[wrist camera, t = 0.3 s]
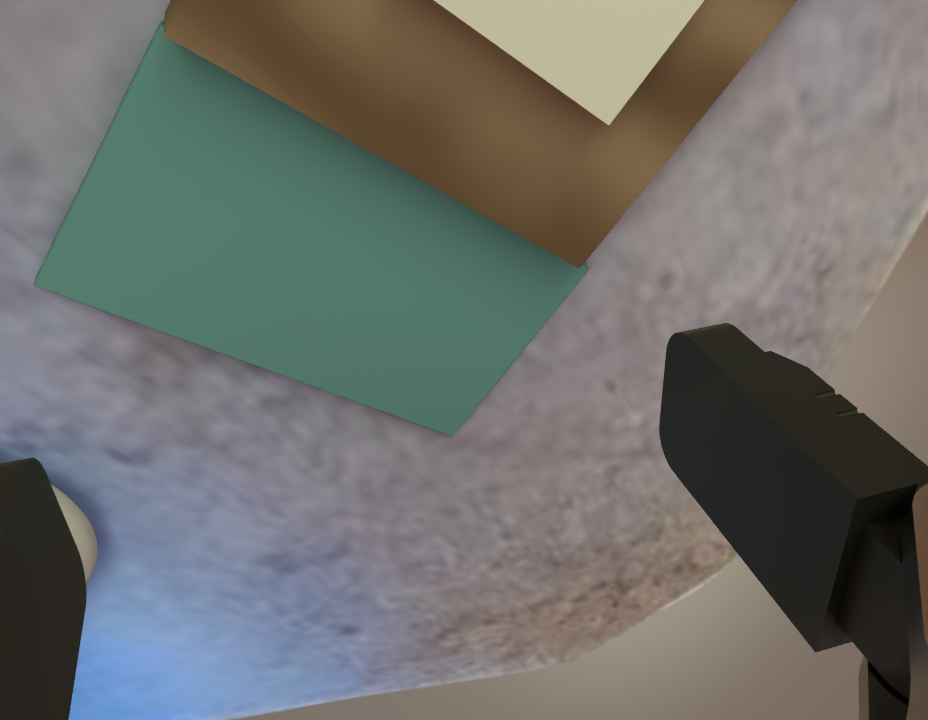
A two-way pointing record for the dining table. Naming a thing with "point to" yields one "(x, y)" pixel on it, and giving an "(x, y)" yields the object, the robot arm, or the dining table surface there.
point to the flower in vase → (79, 531)
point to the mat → (296, 248)
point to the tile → (582, 41)
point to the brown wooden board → (477, 101)
